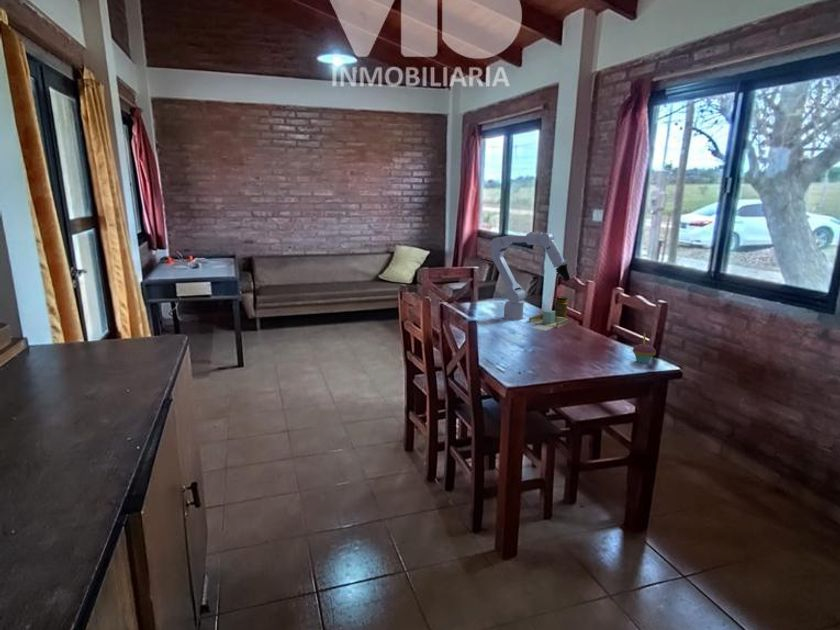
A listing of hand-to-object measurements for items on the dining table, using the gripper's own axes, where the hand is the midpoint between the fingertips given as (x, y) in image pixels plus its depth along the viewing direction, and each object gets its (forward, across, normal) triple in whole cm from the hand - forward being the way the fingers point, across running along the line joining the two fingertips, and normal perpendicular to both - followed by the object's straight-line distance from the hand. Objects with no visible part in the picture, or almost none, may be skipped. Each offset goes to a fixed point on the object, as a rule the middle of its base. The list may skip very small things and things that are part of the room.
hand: (567, 280), depth 248 cm
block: (+14, +11, +18) cm, 25 cm away
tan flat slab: (+15, +12, +18) cm, 26 cm away
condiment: (+15, +21, +13) cm, 29 cm away
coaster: (+16, +1, +21) cm, 26 cm away
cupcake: (+45, -35, -10) cm, 58 cm away
